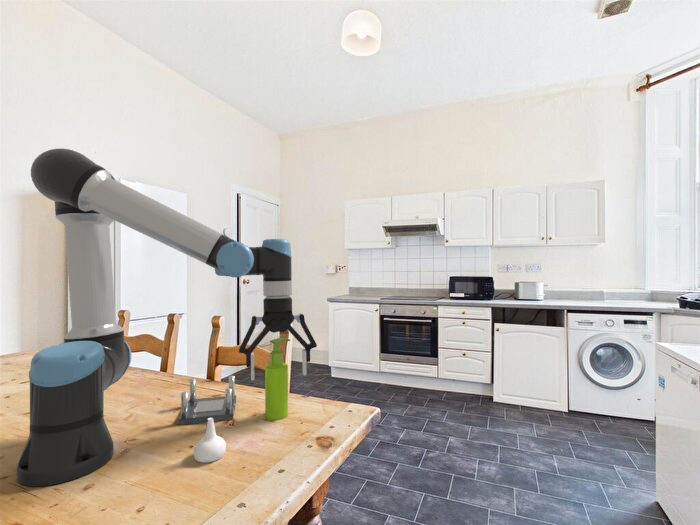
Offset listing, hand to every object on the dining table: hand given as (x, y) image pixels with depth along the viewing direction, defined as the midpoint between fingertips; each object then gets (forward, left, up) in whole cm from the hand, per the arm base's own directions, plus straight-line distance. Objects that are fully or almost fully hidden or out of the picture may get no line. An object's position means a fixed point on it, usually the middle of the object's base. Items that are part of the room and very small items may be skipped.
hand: (279, 376), depth 96 cm
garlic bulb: (-18, +15, -10) cm, 26 cm away
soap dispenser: (0, 0, -10) cm, 10 cm away
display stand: (+7, +18, -10) cm, 22 cm away
